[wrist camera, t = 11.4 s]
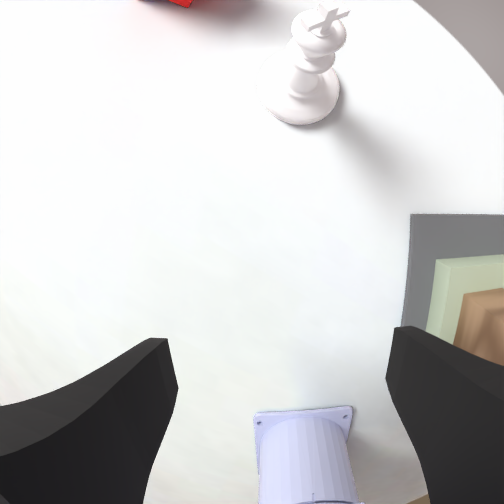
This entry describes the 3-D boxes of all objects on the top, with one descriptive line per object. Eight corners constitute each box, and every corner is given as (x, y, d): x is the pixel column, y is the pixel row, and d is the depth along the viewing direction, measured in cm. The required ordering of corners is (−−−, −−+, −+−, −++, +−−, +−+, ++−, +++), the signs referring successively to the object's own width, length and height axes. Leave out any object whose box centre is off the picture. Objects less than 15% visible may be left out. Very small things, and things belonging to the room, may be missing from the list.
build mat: (487, 365, 21) (489, 368, 20) (388, 389, 21) (390, 392, 21) (517, 215, 17) (521, 216, 17) (410, 214, 18) (413, 215, 17)
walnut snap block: (488, 342, 17) (535, 387, 11) (450, 351, 17) (496, 405, 11) (502, 287, 16) (559, 324, 10) (463, 293, 16) (522, 338, 10)
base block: (484, 344, 20) (495, 356, 18) (419, 359, 20) (429, 373, 18) (502, 254, 18) (518, 261, 16) (435, 259, 18) (450, 268, 16)
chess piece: (241, 75, 16) (216, -14, 7) (308, 40, 15) (340, -59, 6) (286, 139, 17) (311, 100, 8) (353, 101, 16) (431, 42, 7)
